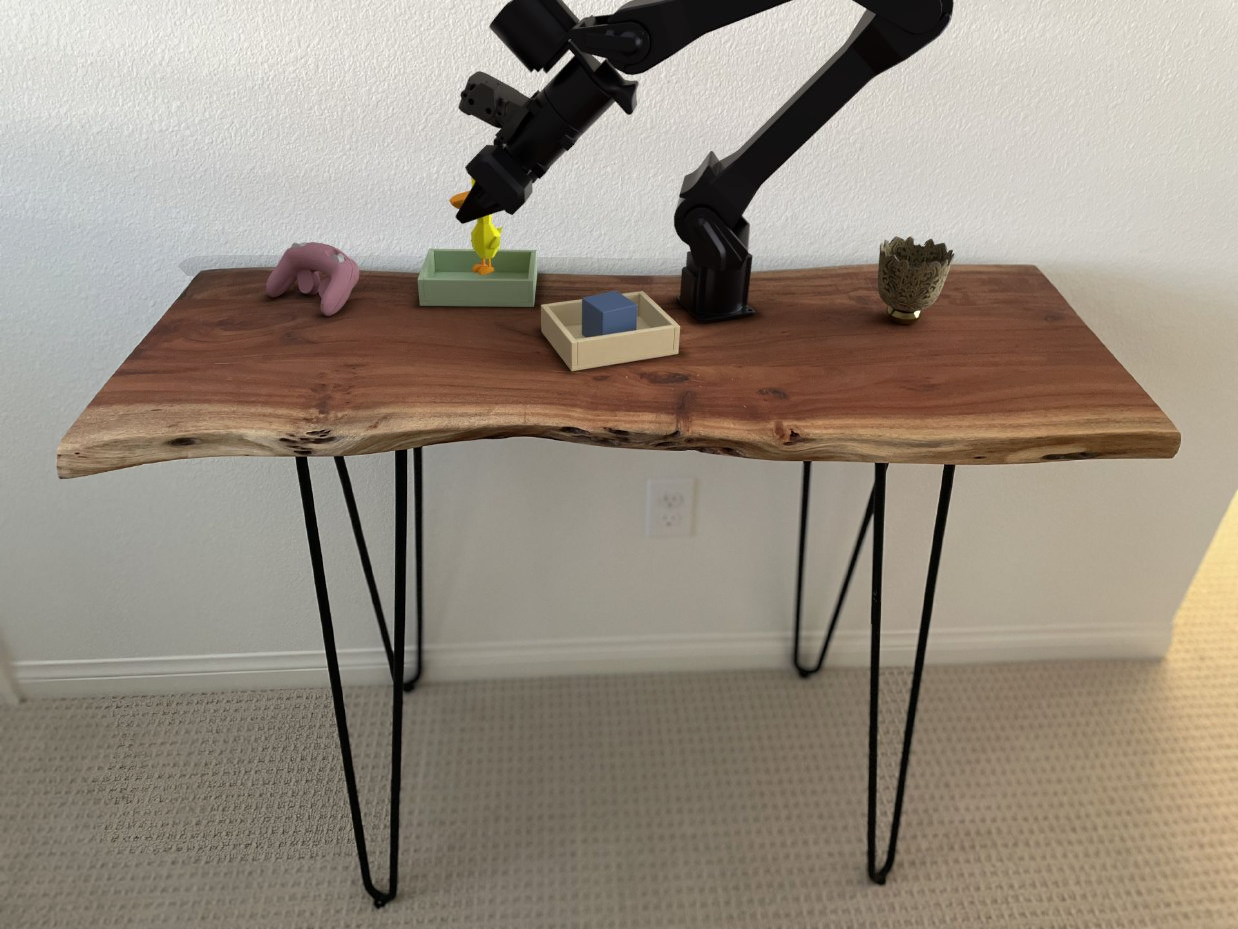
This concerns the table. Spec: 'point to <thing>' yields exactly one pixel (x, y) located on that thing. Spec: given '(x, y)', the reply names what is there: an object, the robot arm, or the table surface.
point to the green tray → (478, 279)
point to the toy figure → (481, 236)
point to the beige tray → (609, 335)
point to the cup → (911, 276)
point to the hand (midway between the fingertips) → (465, 212)
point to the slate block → (608, 314)
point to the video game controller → (315, 274)
